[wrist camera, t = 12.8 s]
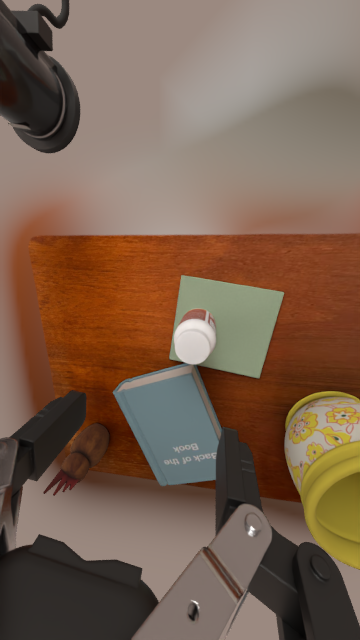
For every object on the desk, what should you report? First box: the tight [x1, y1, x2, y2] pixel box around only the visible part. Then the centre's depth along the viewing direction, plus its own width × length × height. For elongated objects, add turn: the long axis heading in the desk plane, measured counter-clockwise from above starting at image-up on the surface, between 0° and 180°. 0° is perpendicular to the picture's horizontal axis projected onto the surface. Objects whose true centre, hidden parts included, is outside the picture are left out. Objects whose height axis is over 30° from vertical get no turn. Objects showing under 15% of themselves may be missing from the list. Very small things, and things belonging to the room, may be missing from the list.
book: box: [113, 363, 222, 486], centre depth 42 cm, size 23×16×5 cm
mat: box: [169, 275, 284, 378], centre depth 38 cm, size 16×17×1 cm
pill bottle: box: [174, 308, 216, 364], centre depth 33 cm, size 6×6×11 cm
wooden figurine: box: [44, 423, 109, 495], centre depth 42 cm, size 7×6×15 cm
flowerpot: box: [285, 391, 360, 570], centre depth 32 cm, size 18×18×16 cm
